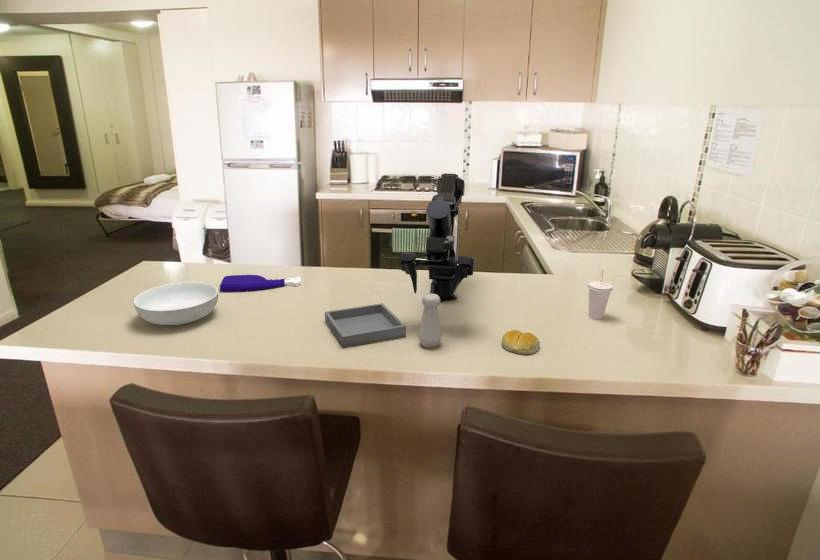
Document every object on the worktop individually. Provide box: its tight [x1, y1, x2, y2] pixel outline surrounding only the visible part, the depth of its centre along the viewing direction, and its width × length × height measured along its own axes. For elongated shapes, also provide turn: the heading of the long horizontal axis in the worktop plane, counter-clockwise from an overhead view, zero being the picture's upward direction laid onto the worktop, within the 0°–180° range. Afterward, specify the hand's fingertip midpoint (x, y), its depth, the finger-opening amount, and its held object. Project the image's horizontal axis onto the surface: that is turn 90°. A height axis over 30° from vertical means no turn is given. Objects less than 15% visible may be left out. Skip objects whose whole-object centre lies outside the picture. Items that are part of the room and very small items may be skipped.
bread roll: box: [501, 329, 541, 356], centre depth 121 cm, size 8×9×4 cm
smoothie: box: [587, 268, 613, 321], centre depth 137 cm, size 6×6×14 cm
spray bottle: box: [219, 274, 302, 293], centre depth 160 cm, size 3×11×24 cm
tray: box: [324, 302, 407, 349], centre depth 129 cm, size 17×17×3 cm
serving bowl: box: [132, 281, 219, 326], centre depth 134 cm, size 21×21×7 cm
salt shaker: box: [417, 293, 443, 349], centre depth 120 cm, size 6×6×13 cm
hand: (433, 294), depth 122 cm, fingers open, 9 cm apart
